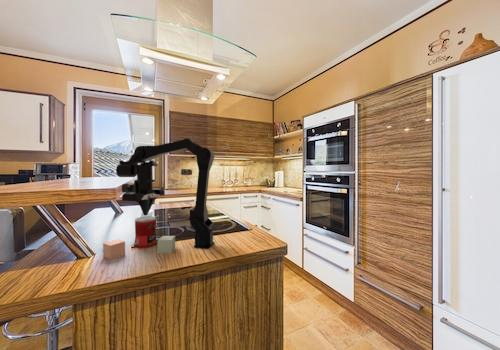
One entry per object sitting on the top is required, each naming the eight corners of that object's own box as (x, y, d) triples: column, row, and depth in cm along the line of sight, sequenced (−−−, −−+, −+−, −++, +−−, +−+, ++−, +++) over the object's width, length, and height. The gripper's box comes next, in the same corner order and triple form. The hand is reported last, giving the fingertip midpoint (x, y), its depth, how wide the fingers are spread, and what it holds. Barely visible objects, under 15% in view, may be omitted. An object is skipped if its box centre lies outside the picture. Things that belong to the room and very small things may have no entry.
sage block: (175, 248, 86) (175, 235, 86) (171, 253, 81) (171, 240, 81) (162, 248, 86) (162, 236, 86) (157, 253, 81) (157, 240, 81)
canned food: (151, 248, 86) (150, 220, 85) (131, 248, 86) (130, 220, 86) (159, 241, 94) (159, 216, 93) (141, 241, 94) (141, 216, 93)
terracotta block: (125, 254, 80) (124, 241, 79) (110, 259, 75) (110, 245, 75) (117, 252, 82) (117, 239, 82) (103, 256, 78) (103, 243, 78)
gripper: (143, 176, 100) (143, 209, 100) (109, 178, 81) (110, 219, 82) (165, 176, 97) (165, 210, 98) (134, 178, 79) (135, 221, 80)
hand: (145, 215), depth 89 cm, fingers closed
